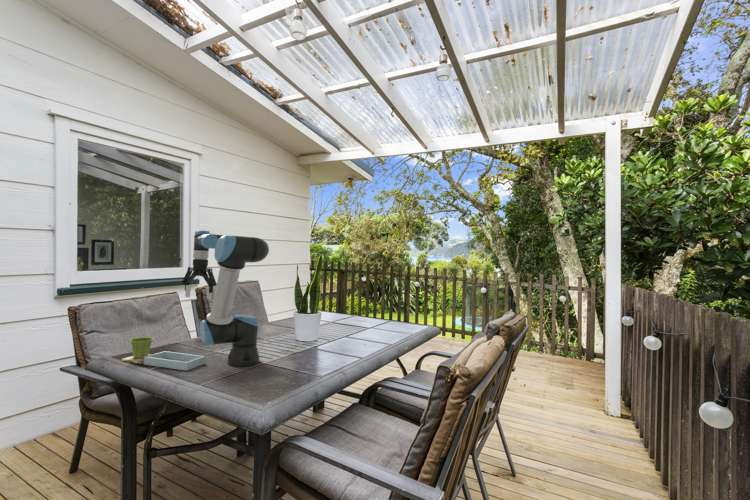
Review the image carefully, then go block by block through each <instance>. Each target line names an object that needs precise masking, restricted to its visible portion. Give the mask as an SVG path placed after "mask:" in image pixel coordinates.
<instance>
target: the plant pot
mask: <svg viewBox="0 0 750 500" xmlns="http://www.w3.org/2000/svg"><path fill="white" fill-rule="evenodd" d="M153 340H154V338H153V337H136V338H132V339H130V340H129V341H130V344H131V348H132V356H133V358H135V359H139V358H144V357H146V356H148V354H150V349H151V344H152V342H153Z"/></svg>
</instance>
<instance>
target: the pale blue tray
mask: <svg viewBox="0 0 750 500" xmlns="http://www.w3.org/2000/svg"><path fill="white" fill-rule="evenodd" d="M205 364H206V356H205V355H198V354H190V353H183V352H176V351H175V352H174V351H168V350H165V351H161V352H157V353H153V354H151V355H149V356H146V357H144V363H143V365H146V366H152V367H159V368H167V369H174V370H180V371H181V370H182V371H189V370H192V369H194V368H197V367H200V366H201V365H205Z"/></svg>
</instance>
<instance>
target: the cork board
mask: <svg viewBox="0 0 750 500" xmlns="http://www.w3.org/2000/svg"><path fill="white" fill-rule="evenodd" d="M149 355H152V354H151V353H149V354H148V356H149ZM124 361H126V362H125V363H131V362H133V363H132V364H138V363H139V364H140V365H142V364H144V358H139V359H135V358H133V355H131V356H127V357H124V358H123V357H122V358H121V359H120V362H124Z"/></svg>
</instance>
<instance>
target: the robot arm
mask: <svg viewBox="0 0 750 500" xmlns="http://www.w3.org/2000/svg"><path fill="white" fill-rule="evenodd" d="M193 237H194V238H193V254H192V266H188V267H187V270H186V273H185V275H184V277H183V278H182V281H181V284H183V285H184V291H185V295H184V296H185V298H190V297H191V283H192V282H193V281H194V279H195V278H196V277H202V278H203V279H204V281H205V282H206V285H208V286H207V288H206V289H207V290H206V299H207V300H210V299H212V294H213V293H214V296H213V301H212V306H211V311H210V312H209V313H208V314H207V315H206V318H205V319H203V320H201V321H200V322H199V335H200V338H201V341H202V342H201V343H203V345H205V346H215V345H223V344H231V347H230V348H231V349H230V351H229V353H228V357H227V361H226V364H227V365H229V366H231V367H250V366H256V365H258V364H260V353H259V350H258V333H259V331H258V329H259V319H258V318H257V317H256V316H253V315H246V314H234V315H233V316H232V315H231V313H232V309H233V305H234V300H235V295H236V291H237V286H238V282H239V278H240V274H241V273H240V272H241V270H243V269H245V267H246V263H259V262H261V261H264V260H265V259H266V257H267V256H268V255H269V252H270V248H269V244H268V243H267V242H266V241H265V240H264V239H262V238H259V237H254V236H252V237H251V236H240V235H233V234H231V235H230V234H229V235H226V234H213V233H211V232H210V231H209V230H197V229H196V230H195V231H194V235H193ZM210 249H213V250H214V253H213V254H214V260H215V261H216V262H217V265H218V266H219V272H218V276H217V281H216V278H215V275H214V273H213V268H212V267H211V268H210V267H209V268H208V266H209V254H210V253H209V251H210ZM214 287H215V291H214Z"/></svg>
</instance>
